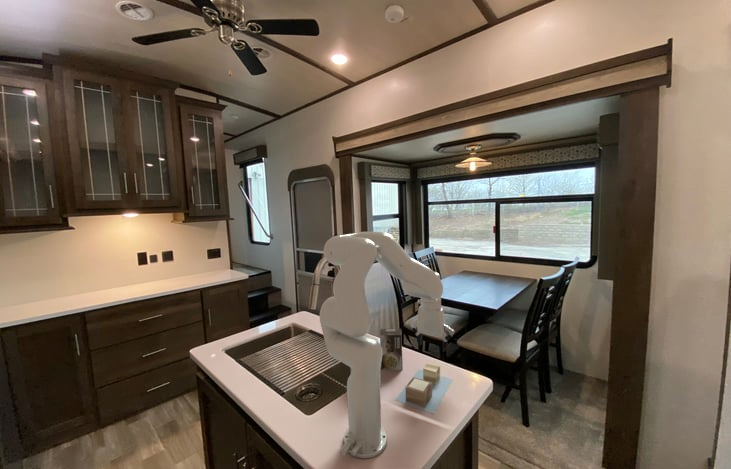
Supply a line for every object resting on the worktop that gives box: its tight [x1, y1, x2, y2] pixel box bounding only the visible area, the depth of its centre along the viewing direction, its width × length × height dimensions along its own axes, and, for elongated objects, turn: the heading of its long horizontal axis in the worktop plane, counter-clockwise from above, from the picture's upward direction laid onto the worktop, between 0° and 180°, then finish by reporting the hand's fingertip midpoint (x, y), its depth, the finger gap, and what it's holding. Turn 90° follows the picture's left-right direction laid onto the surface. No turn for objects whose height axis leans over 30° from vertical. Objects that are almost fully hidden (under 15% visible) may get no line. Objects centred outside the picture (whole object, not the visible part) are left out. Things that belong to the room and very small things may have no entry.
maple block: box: [422, 362, 441, 384], centre depth 110 cm, size 5×5×5 cm
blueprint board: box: [394, 369, 453, 415], centre depth 104 cm, size 22×14×6 cm, turn 147°
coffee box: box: [379, 328, 404, 372], centre depth 120 cm, size 9×6×16 cm
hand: (432, 347), depth 110 cm, fingers open, 9 cm apart
